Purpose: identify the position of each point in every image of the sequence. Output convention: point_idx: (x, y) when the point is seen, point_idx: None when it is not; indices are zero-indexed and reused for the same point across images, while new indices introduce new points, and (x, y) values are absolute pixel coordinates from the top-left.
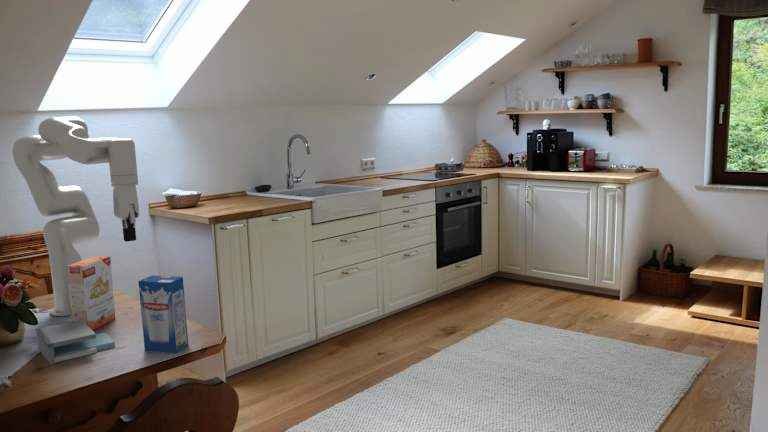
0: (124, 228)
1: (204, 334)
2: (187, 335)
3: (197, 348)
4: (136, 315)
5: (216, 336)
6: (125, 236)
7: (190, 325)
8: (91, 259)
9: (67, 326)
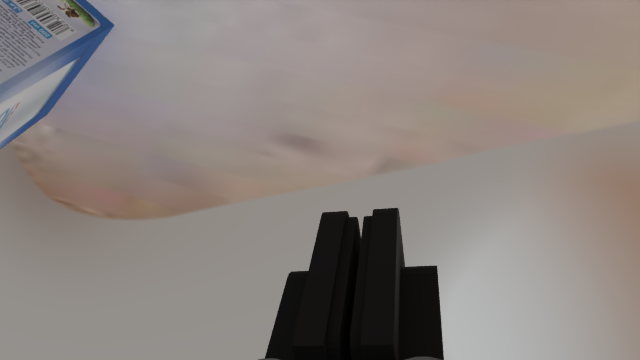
0: (318, 354)
1: (145, 188)
2: (24, 130)
3: None
4: (587, 21)
5: (107, 212)
6: (317, 257)
7: (274, 179)
8: None
9: None
